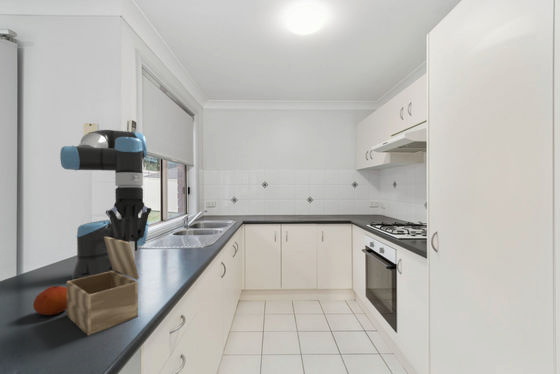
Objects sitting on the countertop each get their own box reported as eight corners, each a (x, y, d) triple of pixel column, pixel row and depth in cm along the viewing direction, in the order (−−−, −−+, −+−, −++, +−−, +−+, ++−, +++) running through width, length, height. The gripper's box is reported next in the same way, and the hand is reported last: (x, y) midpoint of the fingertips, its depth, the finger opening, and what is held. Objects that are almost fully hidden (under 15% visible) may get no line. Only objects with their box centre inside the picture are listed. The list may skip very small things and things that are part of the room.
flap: (103, 237, 84) (105, 236, 84) (112, 269, 86) (114, 268, 86) (127, 243, 74) (129, 242, 74) (136, 279, 75) (138, 278, 76)
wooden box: (66, 315, 76) (66, 281, 77) (112, 301, 86) (112, 270, 86) (88, 335, 66) (87, 295, 66) (137, 316, 75) (137, 281, 75)
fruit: (80, 307, 82) (80, 281, 82) (49, 321, 73) (49, 292, 73) (58, 305, 84) (58, 280, 84) (26, 318, 75) (26, 290, 75)
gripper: (111, 186, 75) (112, 269, 74) (155, 186, 85) (156, 259, 85) (101, 187, 79) (102, 265, 79) (144, 187, 90) (145, 256, 89)
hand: (130, 262), depth 82 cm, fingers closed
